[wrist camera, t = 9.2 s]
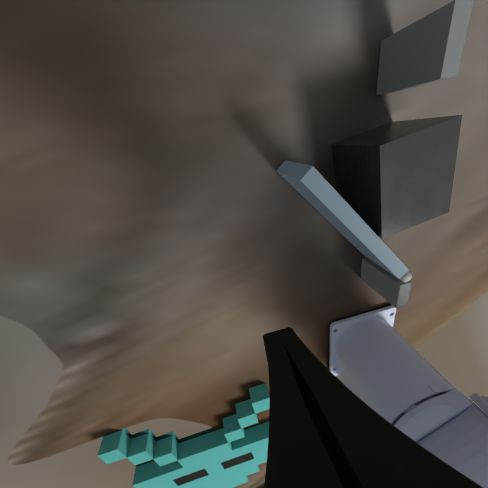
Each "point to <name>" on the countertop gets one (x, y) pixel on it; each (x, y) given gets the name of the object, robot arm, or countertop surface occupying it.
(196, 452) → the teal pixel art cutout
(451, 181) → the block
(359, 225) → the pale blue stick
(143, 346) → the countertop surface
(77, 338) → the countertop surface
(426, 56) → the grey long flat piece
